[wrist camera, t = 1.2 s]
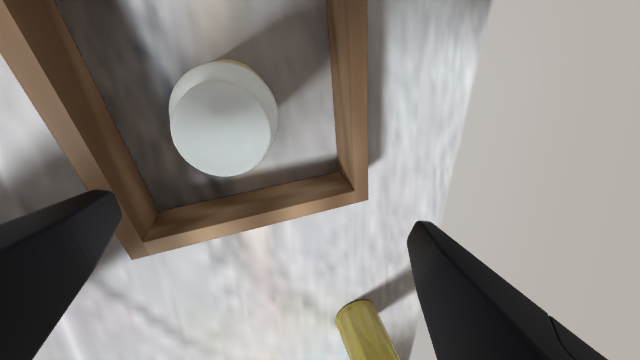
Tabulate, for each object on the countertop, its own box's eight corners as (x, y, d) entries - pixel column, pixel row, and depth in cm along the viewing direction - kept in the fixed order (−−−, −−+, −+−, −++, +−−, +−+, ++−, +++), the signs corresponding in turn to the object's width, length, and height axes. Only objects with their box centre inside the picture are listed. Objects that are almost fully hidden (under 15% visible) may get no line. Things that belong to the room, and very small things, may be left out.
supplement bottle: (251, 48, 18) (261, 43, 9) (277, 120, 20) (304, 164, 12) (176, 73, 17) (115, 90, 9) (214, 143, 20) (195, 207, 11)
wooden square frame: (149, 226, 21) (131, 259, 18) (-8, -64, 12) (-104, -110, 9) (350, 179, 25) (368, 199, 21) (339, -69, 16) (366, -103, 13)
